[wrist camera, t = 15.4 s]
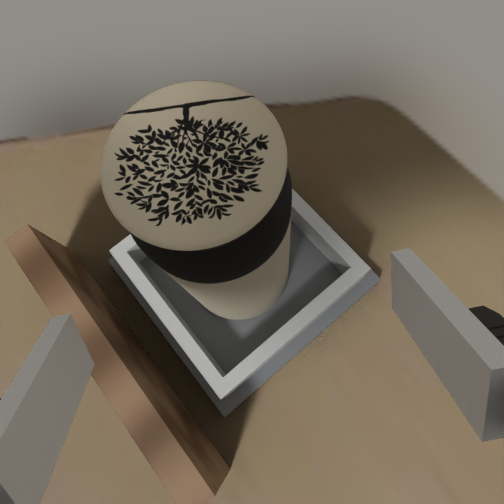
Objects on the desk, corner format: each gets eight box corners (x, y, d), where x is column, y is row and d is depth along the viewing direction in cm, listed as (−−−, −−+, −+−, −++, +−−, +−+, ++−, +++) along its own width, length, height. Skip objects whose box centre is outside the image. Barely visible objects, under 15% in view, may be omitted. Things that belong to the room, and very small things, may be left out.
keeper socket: (112, 263, 35) (91, 249, 31) (253, 154, 37) (249, 128, 33) (226, 416, 31) (218, 421, 27) (378, 282, 33) (391, 269, 29)
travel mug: (287, 321, 31) (292, 256, 14) (187, 318, 32) (76, 252, 15) (289, 226, 34) (295, 71, 17) (195, 225, 34) (107, 74, 17)
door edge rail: (56, 267, 35) (3, 241, 29) (75, 252, 36) (27, 224, 29) (209, 488, 29) (186, 521, 23) (230, 468, 30) (214, 495, 23)
